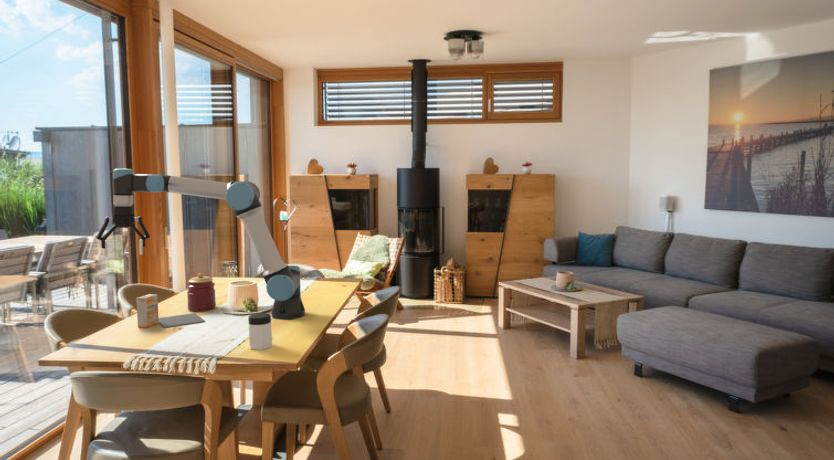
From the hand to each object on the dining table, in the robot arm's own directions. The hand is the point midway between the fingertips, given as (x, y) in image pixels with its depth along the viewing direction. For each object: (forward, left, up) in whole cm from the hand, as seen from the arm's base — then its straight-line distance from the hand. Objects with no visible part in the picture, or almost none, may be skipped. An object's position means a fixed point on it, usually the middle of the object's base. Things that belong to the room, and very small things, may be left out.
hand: (123, 255), depth 248 cm
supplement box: (-2, -8, -32) cm, 32 cm away
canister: (+16, -35, -32) cm, 50 cm away
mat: (-2, -21, -31) cm, 38 cm away
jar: (-62, -37, -32) cm, 78 cm away
